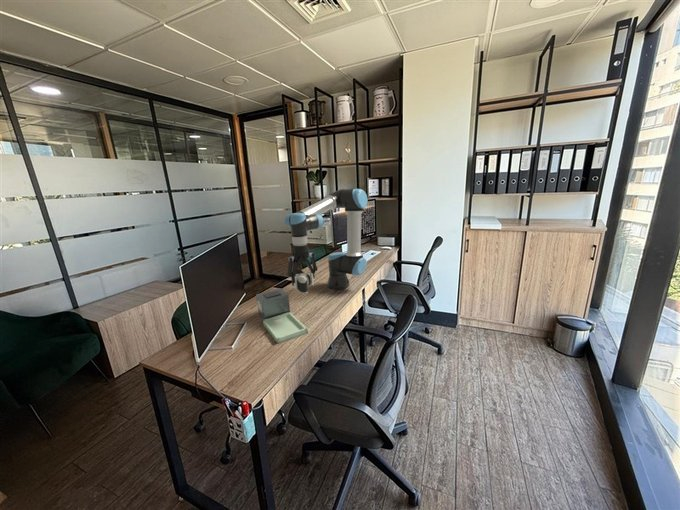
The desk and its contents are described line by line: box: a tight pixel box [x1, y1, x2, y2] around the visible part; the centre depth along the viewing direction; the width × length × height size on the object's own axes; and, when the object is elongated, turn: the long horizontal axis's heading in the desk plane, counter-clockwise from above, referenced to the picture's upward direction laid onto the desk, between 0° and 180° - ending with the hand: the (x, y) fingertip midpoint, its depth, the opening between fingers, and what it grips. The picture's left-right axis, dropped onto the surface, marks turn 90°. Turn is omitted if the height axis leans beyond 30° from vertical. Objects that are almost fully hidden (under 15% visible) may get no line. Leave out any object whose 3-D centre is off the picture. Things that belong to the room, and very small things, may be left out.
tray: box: [262, 311, 308, 345], centre depth 137 cm, size 15×22×2 cm
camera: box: [291, 268, 311, 295], centre depth 144 cm, size 16×9×10 cm, turn 30°
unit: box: [255, 288, 291, 321], centre depth 151 cm, size 15×12×12 cm
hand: (304, 286), depth 144 cm, fingers closed on camera, 9 cm apart
